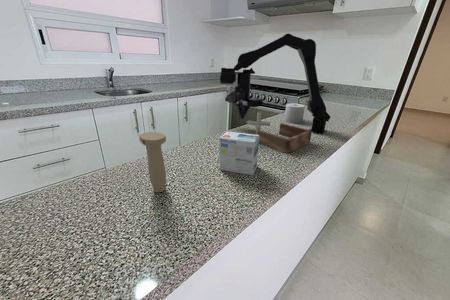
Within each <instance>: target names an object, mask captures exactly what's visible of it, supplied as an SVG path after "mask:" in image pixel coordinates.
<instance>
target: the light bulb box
mask: <svg viewBox="0 0 450 300" xmlns="http://www.w3.org/2000/svg"><path fill="white" fill-rule="evenodd" d="M259 144H260V143H259V135H257V134H256V133H254V134H253V133H243V132H234V131H226V132H224V134H221V136H220V137H219V170H220V171H226V172H230V173H237V174H243V175H249V176H254V174H255V171H256V170H257V168H258V159H259V146H260V145H259Z"/></svg>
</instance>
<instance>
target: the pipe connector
mask: <svg viewBox="0 0 450 300" xmlns="http://www.w3.org/2000/svg"><path fill="white" fill-rule="evenodd" d="M246 125H250V126H252V125H253V126H255V135H257V133H258V130H261V126H265V127H266V126H267V127H268V126H269V127H270V126H271V121H262V111H257V113H256V120H247V121H246Z"/></svg>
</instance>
